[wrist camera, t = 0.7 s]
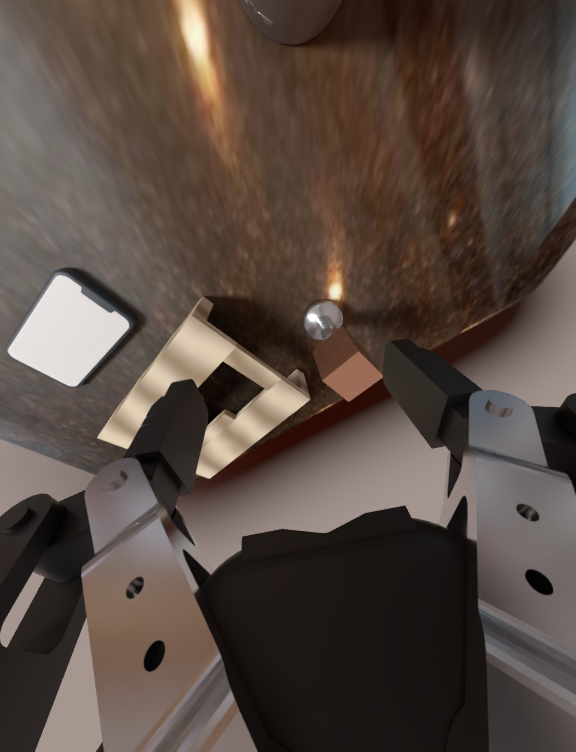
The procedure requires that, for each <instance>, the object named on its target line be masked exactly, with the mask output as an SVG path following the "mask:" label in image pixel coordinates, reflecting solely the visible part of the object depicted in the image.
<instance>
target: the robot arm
mask: <svg viewBox="0 0 576 752" xmlns="http://www.w3.org/2000/svg"><path fill="white" fill-rule="evenodd" d="M238 1H239V3H240V5H241V6H242V8H243V10H244V12H245V14H246V15H247V16H248V18H249V19H250V20H251V21H252V23H253V24H254V25H255V27H256V28H257V29H259V30H260V31H261V32H262V33H263V34H264V35H266V36H267V37H268V38H270V39H272V40H274V41H276V42H278V43H280V44H288V45H296V44H300V43H305V42H307V41H309V40H310V39H312V38H314V37H315V36H317V35H318V34H319V33H320V32H321V31H322V30H323V29H324V28H325V27H326V26H327V25H328V24H329V23H330V21H331V20H332V18H333V16H334V15H335V13H336V12H337V10H338V9H339V7H340V4H341V2H342V0H238ZM383 380H384V384H385V386H386V387H387V389H388V390H389V392H390V393H391V394H392V396H393V397H394V398H395V400H396V401H397V402H398V404H399V405H400V406H401V408H402V409H403V410H404V412H405V413H406V414H407V416H408V417H409V418H410V420H411V421H412V423H413V424H414V425H415V426H416V428H417V429H418V431H419V432H420V433H421V435H422V436H423V437H424V439H425V440H426V441H427V443H428V444H429V445H430V447H431V448H438V447H443V446H446V447H447V448H448V450H449V454H448V457H447V469H446V480H445V491H444V502H443V508H442V513H441V517H440V521H439V525H438V524H435V523H431V522H429V521H425V520H420V519H415V518H411V516H410V514H409V512H408V510H407V508H406V506H400V507H396V508H390V509H385V510H379V511H374V512H369V513H365V514H363V515H361V516H359V517H357V518H355V519H353V520H351V521H350V522H348V523H346V524H344V525H342V526H340V527H338V528H336V529H334V530H333V531H330V532H328V533H315V532H306V531H296V530H287V529H280V530H274V531H269V532H264V533H259V534H254V535H249V536H243V537H242V550H241V551H239V552H237V553H236V554H234V555H233V556H231V557H230V558H228V559H227V560H226V561H225V562H224V563H222V564H221V565H220V566H219V567H218V568H217V569H216V570H214V569H213V567H212V566H211V564H210V563H209V561H208V560H207V559H206V557H205V556H204V554H203V553H202V551H201V549H200V548H199V546H198V544H197V542H196V540H195V538H194V537H193V535H192V533H191V531H190V529H189V527H188V525H187V524H186V522H185V520H184V518H183V516H182V515H181V513H180V511H179V509H178V508H177V506H176V502H177V498H178V496H180V495H186V494H191V491H192V487H193V483H194V479H195V475H196V470H197V466H198V462H199V458H200V453H201V449H202V445H203V441H204V436H205V432H206V428H207V423H208V410H207V407H206V405H205V403H204V400H203V398H202V396H201V394H200V392H199V390H198V388H197V386H196V384H195V382H194V381H193V380H192V379H187V380H181V381H176V382H172V383H171V384H170V386H169V388H168V390H167V392H166V394H165V396H162V397H160V398H159V399H158V400H157V401H156V402H155V403H154V404H153V405H152V406H151V408H150V410H149V411H148V413H147V415H146V418H145V419H144V421H143V422H142V424H141V427H140V428H139V430H138V432H137V433H136V435H135V437H134V439H133V441H132V443H131V444H130V446H129V448H128V450H127V452H126V454H125V455H124V457H123V459H120V460H117V461H115V462H113V463H111V464H109V465H108V466H106V467H105V468H103V469H102V470H101V471H100V472H99V473H97V474H96V475H95V477H94V478H93V479H92V480H91V481H90V483H89V484H88V486H87V488H86V490H84V491H82V492H80V493H78V494H75V495H73V496H71V497H68V498H66V499H64V500H62V501H59V502H58V501H56V500H55V499H54V498H52V497H51V496H50V495H48V494H38V495H34V496H31V497H29V498H27V499H25V500H23V501H21V502H19V503H18V504H16V505H15V506H13V507H12V508H10V509H9V510H8V511H7V512H5V513H4V514H3V515H2V516H1V517H0V631H1V627H2V625H3V622H4V620H5V618H6V617H7V615H8V613H9V612H10V610H11V608H12V606H13V605H14V603H15V601H16V599H17V598H18V596H19V594H20V593H21V591H22V589H23V588H24V586H25V584H26V582H27V580H28V579H29V577H30V576H31V574H32V572H34V573H37V574H39V575H41V576H44V577H45V578H44V580H43V582H42V584H41V586H40V587H39V589H38V591H37V593H36V595H35V597H34V599H33V600H32V602H31V604H30V606H29V608H28V610H27V612H26V614H25V615H24V617H23V619H22V621H21V623H20V625H19V626H18V628H17V630H16V632H15V634H14V636H13V637H12V639H11V641H10V643H9V645H8V647H7V648H6V647H4V646H3V645H2V644H1V643H0V752H35V750H36V747H37V745H38V742H39V739H40V737H41V734H42V731H43V729H44V726H45V723H46V721H47V718H48V716H49V713H50V711H51V708H52V705H53V703H54V700H55V698H56V695H57V692H58V690H59V687H60V684H61V682H62V679H63V677H64V674H65V671H66V669H67V666H68V664H69V661H70V658H71V656H72V653H73V651H74V648H75V645H76V643H77V640H78V637H79V635H80V632H81V630H82V627H83V624H84V622H85V619H86V617H87V623H88V631H89V638H90V647H91V655H92V662H93V670H94V677H95V686H96V693H97V701H98V708H99V717H100V725H101V732H102V740H103V742H102V743H101V745H100V747H99V748H98V750H97V751H96V752H576V393H574V394H571V395H569V396H568V397H567V398H566V399H565V401H564V402H563V404H562V405H561V407H540V406H529V405H528V404H527V403H526V402H525V401H523V400H522V399H520V398H518V397H516V396H514V395H511V394H508V393H505V392H501V391H496V390H482V389H481V388H480V387H478V386H477V385H476V384H475V383H473V382H472V381H470V380H469V379H468V378H467V377H466V376H464V375H463V374H462V373H460V372H459V371H458V370H457V369H455V368H453V366H452V365H450V364H449V363H448V362H445V360H444V359H443V358H441V357H440V356H439V355H437V354H436V353H434V352H432V351H429V350H427V349H424V348H419V347H418V346H417V345H415V344H414V343H413V342H412V341H411V340H409V339H407V338H406V339H400V340H395V341H390V342H387V343H386V346H385V354H384V365H383Z"/></svg>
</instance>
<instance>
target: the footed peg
mask: <svg viewBox="0 0 576 752" xmlns="http://www.w3.org/2000/svg"><path fill="white" fill-rule="evenodd" d="M303 323H304V326H305V329H306V331H307V333H308V334H309V335H310V336H311V337H313V338H315V339H319V340H324V341H323V342H322V343H321V344H320V345H319V346H318V347H317V348H316V349H314V350H313V351H312V353H313V356H314V358H315V361H316V364H317V367H318V370H319V373H320V376H321V379H322V381H323V382H325V383H326V384H327V385H328V386H330V387H331V388H332V389H333V390H335V391H336V392H337V393H338V394H340V395H341V396H342V397H343V398H345V399H346V400H347V401H350V400H352V399H353V398H354V397H356V396H357V395H359V394H360V393H361V392H363V391H364V390H366V389H367V388H368V387H370V386H371V385H372V384H374V383H375V382H377V381H378V380H380V379H381V378H382V377H383V374H382V373H381V372H380V370H379V369H378V367H377V366H376V364H375V363H374V362H373V360H372V359H371V357H370V356H369V355H368V353H367V352H366V350H365V349H364V348H363V347H362V346H361V345H360V344H359V343H358V341H357V340H356V339H355V338H354V337H353V336H352V335H351V334H350V333H349V332H348V331H347V330H346V329H345V328H344V327H343V326H342V323H343V315H342V312H341V311H340V309H339V308H338V306H337V305H336V304H335V303H334V302H332V301H330V300H326V299H321V300H317V301H315V302H313V303H312V304H310V305H309V306H308V307H307V309H306V310H305V312H304V316H303Z"/></svg>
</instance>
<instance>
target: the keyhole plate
mask: <svg viewBox="0 0 576 752" xmlns="http://www.w3.org/2000/svg"><path fill="white" fill-rule="evenodd" d="M212 307H213V303H211V302H210V301H209V300H208V299H206V298H205V297H204V296H202V298H201V299H200V300H199V302H198V303H197V304H196V306H195V307H194V308H193V310H192V311H191V312H190V313H189V315H188V316H187V317H186V319H185V320H184V321H183V323H182V324H181V325H180V326H179V328H178V329H177V330H176V332H175V333H174V334H173V336H172V337H171V338H170V340H169V341H168V342H167V343H166V345H165V346H164V347H163V349H162V350H161V351H160V353H159V354H158V355H157V356H156V358H155V359H154V360H153V362H152V363H151V364H150V366H149V367H148V368H147V369H146V371H145V372H144V373H143V375H142V376H141V377H140V379H139V380H138V381H137V383H136V384H135V385H134V386H133V388H132V389H131V390H130V392H129V393H128V394H127V396H126V397H125V398H124V399H123V401H122V402H121V403H120V405H119V406H118V407H117V409H116V410H115V412H114V413H113V415H112V416H111V418H110V419H109V421H108V422H107V424H106V425H105V427H104V428H103V430H102V431H101V433H100V434H99V435H98V437H97V438H98V439H101V440H104V441H107V442H110V443H112V444H115V445H118V446H121V447H123V448H126V449H128V448H129V446H130V444H131V443H132V441H133V439H134V437H135V435H136V433H137V432H138V430H139V428H140V427H141V424H142V422H143V421H144V419H145V418H146V415H147V413H148V411H149V410H150V408H151V406H152V405H153V404H154V403H155V402H156V401H157V400H158V399H159V398H160V397H162V396H165V394H166V392H167V390H168V388H169V386H170V384H171V383H172V382H176V381H181V380H187V379H192V380H193V381H194V382H195V384H196V386H197V388H198V387H199V386H200V385H201V384H202V383H203V382H204V381H205V380H206V379H207V377H208V376H209V375H210V374H211V373H212V372H213V371H214V370H215V369H216V368H217V367H218V366H219V365H220V364H221V363H222V362H225V363H226V364H228V365H229V366H231V367H233V368H234V369H236V370H237V371H239V372H240V373H242V374H243V375H245V376H246V377H248V378H249V379H251V380H252V381H254V382H255V383H257V384H259V385H260V386H262V387H263V388H265V389H264V390H263V391H262V392H260V393H259V394H258V395H257V396H256V397H255V398H254V399H253V400H252V401H250V402H249V403H248V404H247V405H246V406H245V407H244V408H243V409H241V410H240V411H239V412H238V413H237V414H236V415H235V414H233V413H231V412H229V411H228V410H226V409H225V410H224V411H223V412H222V413H220V414H219V415H218V416H217V417H216V418H215V419H214V420H213V421H212V422H211V423H210V424H209V425H208V426H207V428H206V432H205V436H204V441H203V445H202V449H201V453H200V458H199V462H198V466H197V470H196V474H198V475H201V476H204V477H206V478H211V477H212V476H213V475H215V474H216V473H217V472H219V471H220V470H221V469H222V468H224V467H225V466H226V465H228V464H229V463H230V462H231V461H233V460H234V459H235V458H237V457H238V456H239V455H240V454H242V453H243V452H244V451H245V450H247V449H248V448H249V447H251V446H252V445H253V444H254V443H256V442H257V441H258V440H259V439H261V438H262V437H263V436H265V435H266V434H267V433H268V432H270V431H271V430H272V429H274V428H275V427H276V426H277V425H279V424H280V423H281V422H282V421H284V420H285V419H286V418H288V417H289V416H290V415H291V414H293V413H294V412H295V411H297V410H298V409H299V408H300V407H302V406H303V405H304V404H305V403H307V402H308V401H309V400H310V396H309V392H308V389H307V385H306V381H305V377H304V374H303V373H302V372H301V371H299V370H298V369H296V370H295V371H294V372H293V373H292V374H291V375H289V376H288V377H287V378H285V377H284V376H282V375H281V374H280V373H278V372H277V371H275V370H274V369H273V368H271V367H270V366H268V365H267V364H266V363H264V362H263V361H262V360H260V359H259V358H257V357H256V356H255V355H253V354H252V353H250V352H249V351H248V350H246V349H245V348H244V347H242V346H241V345H239V344H238V343H237V342H235V341H234V340H232V339H231V338H230V337H228V336H227V335H226V334H224V333H223V332H221V331H220V330H219V329H217V328H216V327H214V326H213V325H212V324H210V323H209V322H208V321H207V319H208V316H209V314H210V311H211V309H212ZM202 398H203V399H204V397H202Z"/></svg>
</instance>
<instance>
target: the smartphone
mask: <svg viewBox="0 0 576 752" xmlns="http://www.w3.org/2000/svg"><path fill="white" fill-rule="evenodd" d="M136 325H137V319H136V317H135V315H134V314H133V313H132V312H131V311H129V310H128V309H127V308H125V307H124V306H123V305H121V304H120V303H118V302H117V301H116V300H114V299H113V298H112V297H110V296H109V295H108V294H106V293H105V292H104V291H102V290H101V289H100V288H98V287H97V286H96V285H94V284H93V283H92V282H90V281H89V280H88V279H86V278H85V277H84V276H82V275H81V274H80V273H78V272H77V271H75V270H73V269H70V268H63V269H60V270H57V271H55V272H54V273H53V275H52V276H51V278H50V279H49V281H48V282H47V284H46V285H45V287H44V288H43V289H42V291H41V292H40V294H39V295H38V297H37V298H36V300H35V301H34V303H33V305H32V307H31V309H30V310H29V312H28V313H27V315H26V316H25V318H24V319H23V321H22V322H21V324H20V326H19V327H18V329H17V330H16V332H15V333H14V335H13V336H12V338H11V339H10V341H9V343H8V344H7V346H6V347H5V352H6V354H7V355H8V356H9V357H10V358H12V359H14V360H16V361H18V362H19V363H21V364H23V365H25V366H27V367H29V368H31V369H33V370H35V371H37V372H39V373H41V374H43V375H45V376H47V377H49V378H51V379H53V380H55V381H57V382H59V383H61V384H63V385H65V386H67V387H70V388H78V387H80V386H81V385H82V384H83V383H84V382H85V381H86V380H87V379H88V378H89V377H90V375H91V374H92V373H93V372H94V371H95V370H96V369H97V368H98V367H99V366H100V365H101V363H102V362H103V361H104V360H105V359H106V358H107V357H108V356H110V355H111V354H112V353H113V352H114V351H115V350H116V349H117V347H118V346H119V344H120V343H121V342H122V341H123V339H124V338H125V337H126V336H127V335H128V334H129V333H130V332H131V331H132V330H133V329H134V327H135V326H136Z"/></svg>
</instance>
